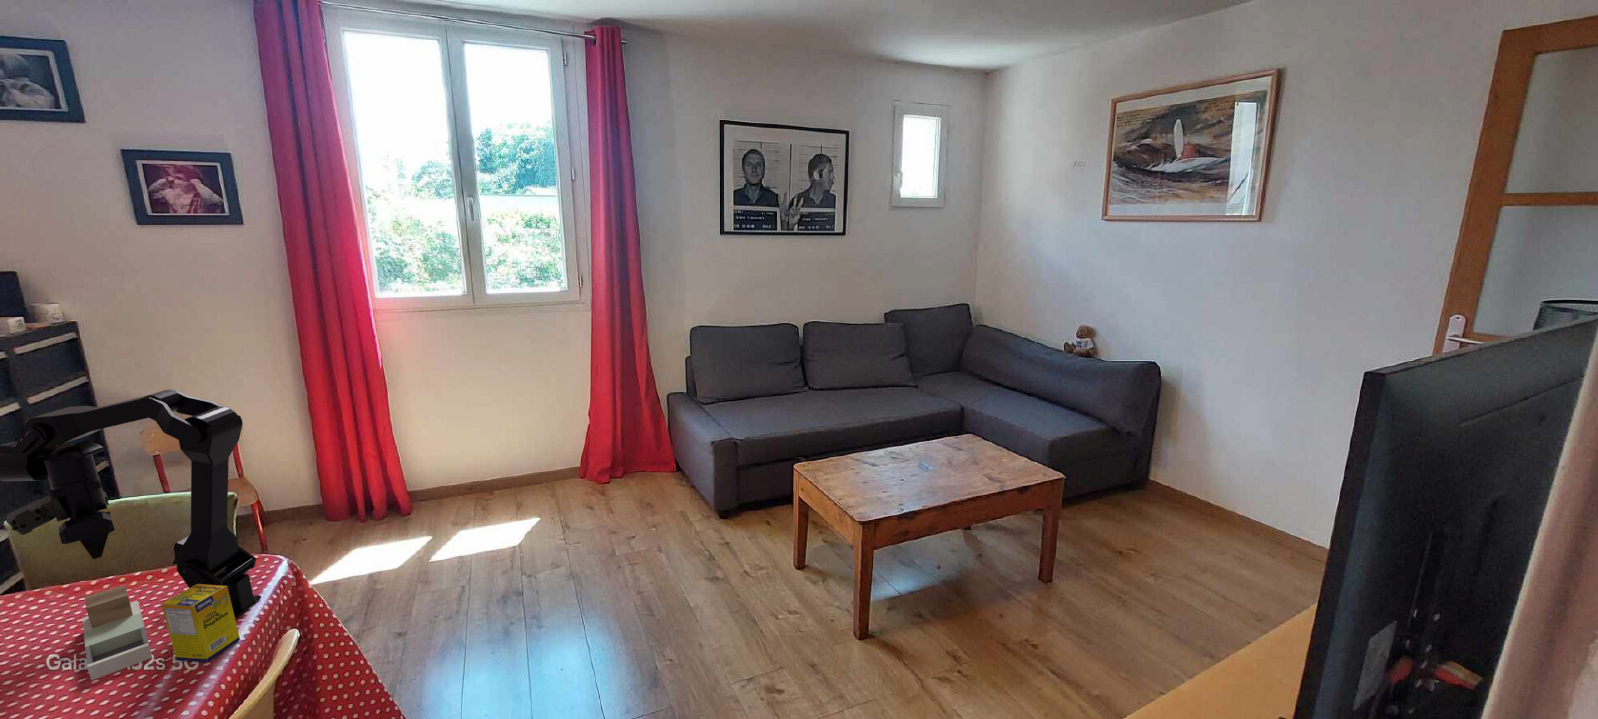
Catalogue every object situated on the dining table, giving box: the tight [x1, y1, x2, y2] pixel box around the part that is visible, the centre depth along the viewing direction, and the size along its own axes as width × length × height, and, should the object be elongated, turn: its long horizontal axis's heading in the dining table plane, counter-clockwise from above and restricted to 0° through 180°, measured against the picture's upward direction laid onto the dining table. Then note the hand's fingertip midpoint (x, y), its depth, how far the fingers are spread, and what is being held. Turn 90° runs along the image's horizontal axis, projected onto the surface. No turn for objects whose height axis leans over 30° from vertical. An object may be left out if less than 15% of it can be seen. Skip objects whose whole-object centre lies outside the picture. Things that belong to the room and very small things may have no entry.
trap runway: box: [81, 600, 153, 681], centre depth 112 cm, size 22×7×2 cm, turn 49°
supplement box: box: [161, 584, 241, 663], centre depth 108 cm, size 6×6×11 cm
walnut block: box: [84, 584, 133, 628], centre depth 114 cm, size 5×5×4 cm
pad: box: [83, 612, 148, 657], centre depth 111 cm, size 6×7×2 cm
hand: (97, 557), depth 117 cm, fingers closed
